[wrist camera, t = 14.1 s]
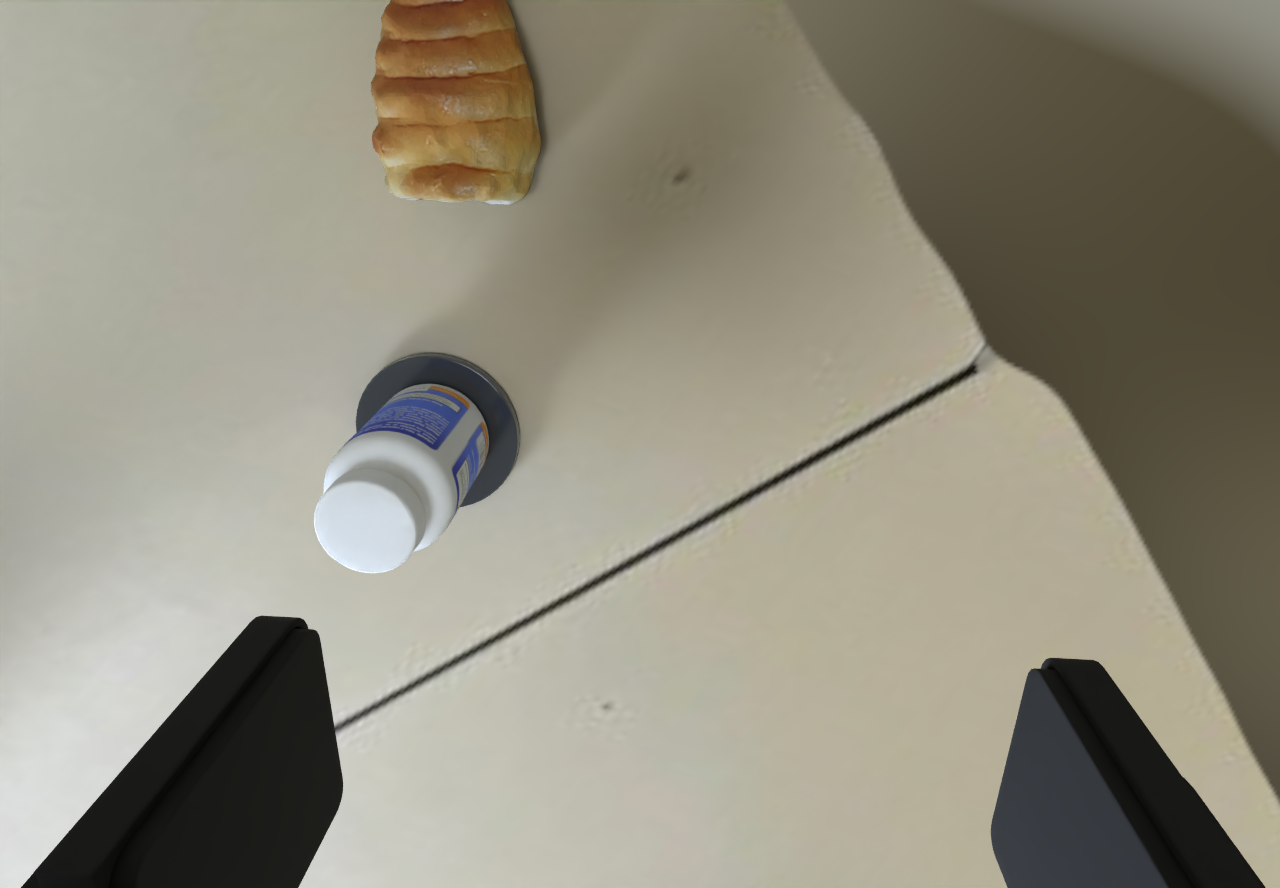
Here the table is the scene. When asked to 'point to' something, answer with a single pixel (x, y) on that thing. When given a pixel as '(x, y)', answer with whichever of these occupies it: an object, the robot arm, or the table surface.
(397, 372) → the coaster
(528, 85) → the pastry
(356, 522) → the pill bottle
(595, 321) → the table surface
